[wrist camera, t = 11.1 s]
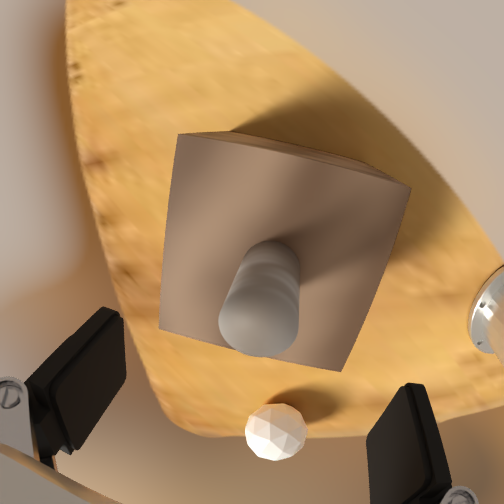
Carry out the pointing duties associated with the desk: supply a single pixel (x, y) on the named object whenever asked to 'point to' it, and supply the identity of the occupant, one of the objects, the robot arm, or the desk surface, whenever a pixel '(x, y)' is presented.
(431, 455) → the robot arm
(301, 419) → the geometric ball
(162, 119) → the desk surface
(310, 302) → the walnut cover
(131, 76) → the desk surface
